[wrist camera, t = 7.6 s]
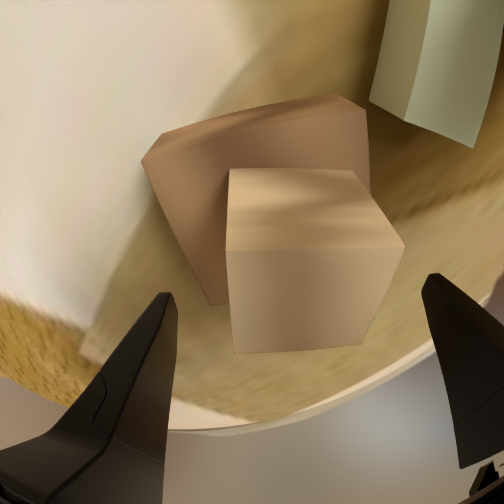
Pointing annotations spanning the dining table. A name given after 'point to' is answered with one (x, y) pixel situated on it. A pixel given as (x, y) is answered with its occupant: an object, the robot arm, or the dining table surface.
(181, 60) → the dining table surface
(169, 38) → the dining table surface
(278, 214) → the oak cube
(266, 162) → the base block
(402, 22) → the block
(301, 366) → the dining table surface
